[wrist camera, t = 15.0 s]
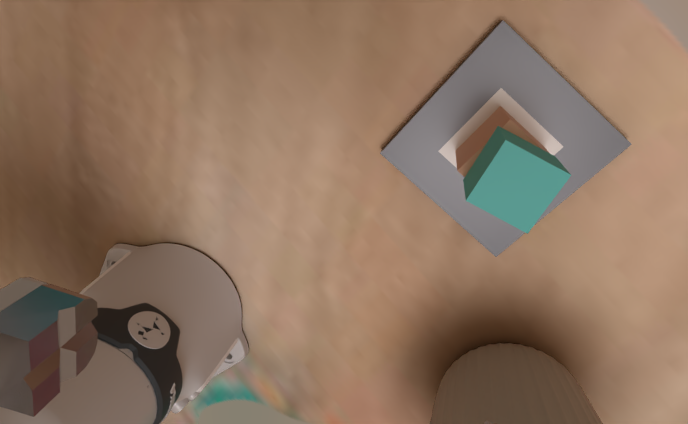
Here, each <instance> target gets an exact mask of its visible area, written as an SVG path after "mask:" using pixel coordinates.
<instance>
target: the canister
mask: <svg viewBox="0 0 688 424" xmlns="http://www.w3.org/2000/svg"><path fill="white" fill-rule="evenodd" d="M485 421H490V422H493V423H496V424H603V423H602V422H601V420H600V418H599V416H598V415H597V413H596V411H595V410H594V408H593V407H592V405H591V403H590V402H589V400H588V398H587V397H586V395H585V393H584V392H583V390H582V389H581V387H580V386H579V384H578V382H577V381H576V379H575V378H574V377H573V376H572V374H571V373H569V372H568V371H567V369H566V368H565V367H564V366H563V365H562V364H561V363H559V362H557V361H556V360H555V359H554V358H553V357H551V356H549V355H546V354H545V353H544V352H543V351H540V350H536V349H534V348H533V347H527V346H523V345H522V344H511V343H506V344H503V343H498V344H488V345H486V346H482V347H478V348H477V349H475V350H470V351H469V352H468V353H467V354H465V355H462V356H461V357H460V358H459V359H458V360H456V361H455V362H453V364H452V365H451V367H450V368H449V369H448V370H447V371H446V373H445V375H444V377H443V378H442V380H441V382H440V385H439V389H438V391H437V395H436V399H435V403H434V408H433V412H432V417H431V422H430V424H484V423H485Z"/></svg>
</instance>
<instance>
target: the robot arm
mask: <svg viewBox="0 0 688 424" xmlns="http://www.w3.org/2000/svg"><path fill="white" fill-rule="evenodd" d="M248 351H249V348H248V344H247V341H246V338H245V336H244V334H243V331H242V309H241V303H240V299H239V296H238V293H237V291H236V289H235V287H234V285H233V283H232V281H231V280H230V279H229V277H228V276H227V275H226V273H225V272H224V271H223V270H222V269H221V268H220V267H219V266H218V265H217V264H216V263H215V262H214V261H212V260H211V259H210V258H208V257H207V256H205V255H204V254H202V253H200V252H198V251H196V250H194V249H191V248H189V247H186V246H182V245H178V244H170V243H161V244H154V245H149V246H144V247H138V246H133V245H128V244H115V245H114V246H113V247H112V248H111V249H110V250H109V251H108V253H107V255H106V258H105V261H104V264H103V266H102V269H101V272H100V275H99V277H97V278H96V279H95V280H94V281H93V282H91V283H90V284H89V285H88V286H86V287H85V288H84V289H83V290H82V291H81V292H80V293H76V292H73V291H70V290H67V289H64V288H61V287H59V286H56V285H53V284H48V283H45V282H42V281H39V280H36V279H33V278H31V277H25V278H19V279H18V280H16V281H14V282H12V283H11V284H9V285H7V286H6V287H4V288H2V289H0V424H160V423H161V422H162V421H163V420H164V419H165V418H166V417H167V415H168V414H169V412H170V411H172V412H173V413H175V414H176V413H178V412H179V411H180V410H182V409H183V408H184V407H185V406H186V404H187V403H188V402H189V400H190V401H192V400H193V399H195V398H196V397H197V396H198V394H199V393H200V392H201V391H202V390H203V389H204V388H205V386H206V385H207V384H208V382H209V381H210V379H211V378H213V377H215V376H216V375H218V374H220V373H221V372H223V371H225V370H226V369H228V368H230V367H231V366H233V365H235V364H236V363H238V362H240V361H241V360H243V359H244V357H245V356H246V355H247V354H248ZM229 353H230V354H231V355H230V354H229ZM484 424H496V423H493V422H490V421H485V423H484Z"/></svg>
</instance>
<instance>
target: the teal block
mask: <svg viewBox="0 0 688 424" xmlns="http://www.w3.org/2000/svg"><path fill="white" fill-rule="evenodd" d="M570 176H571V174H570V173H569V172H568V171H567V169H566V168H565V167H564V166H563V165H562V164H561V162H560V161H559V160H558V159H557V158H556V157H555V156H554V155H552V154H550V153H548V152H546V151H544V150H543V149H541V148H539V147H537V146H535V145H533V144H531V143H529V142H528V141H526V140H524V139H522V138H520V137H518V136H516V135H515V134H513V133H511V132H509V131H507V130H505V129H503V128H501V127H500V126H497V128H496V129H495V131H494V133H493V134H492V136H491V137H490V139H489V140H488V142H487V143H486V145H485V147H484V148H483V150H482V151H481V153H480V154H479V156H478V158H477V159H476V161H475V162H474V164H473V165H472V167H471V168H470V170H469V172H468V173H467V175H466V176H465V178H464V179H463V183H464V190H465V198H466V201H467V202H469V203H471V204H473V205H475V206H477V207H479V208H480V209H482V210H484V211H486V212H488V213H490V214H492V215H493V216H495V217H497V218H499V219H501V220H503V221H505V222H507V223H508V224H510V225H512V226H514V227H516V228H518V229H520V230H521V231H523V232H525V233H527V234H528V232H529V231H530V230H531V228H532V227H533V226H534V224H535V223H536V222H537V220H538V219H539V218H540V216H541V215H542V214H543V212H544V211H545V210H546V208H547V207H548V206H549V204H550V203H551V202H552V200H553V199H554V198H555V196H556V195H557V194H558V192H559V191H560V190H561V188H562V187H563V186H564V184H565V183H566V182H567V180H568V179H569V178H570Z"/></svg>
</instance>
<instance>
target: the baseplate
mask: <svg viewBox="0 0 688 424" xmlns="http://www.w3.org/2000/svg"><path fill="white" fill-rule="evenodd" d="M500 106H501V107H502V108H503V109H505V110H506V111H507V112H508V113H509V114H510V115H511V116H512V117H513V118H514V119H515V120H516V121H517V122H518V123H519V124H521V125H522V126H523V127H524V128H525V129H526V130H527V131H528V132H529V133H530V134H531V135H532V136H533V137H534V138H535V139H536V140H538V141H539V142H540V143H541V144H542V145H543V146H544V147H545V148H546V149H547V151H548V152H549V153H550V154H552V155H554V156H555V157H556V158H557V159H558V160H559V161H560V162H561V164H562V165H563V166H564V167H565V168H566V169H567V171H568V172H569V173H570V174H571V176H570V178H569V179H568V180H567V182H566V183H565V184H564V186H563V187H562V188H561V190H560V191H559V192H558V194H557V195H556V196H555V198H554V199H553V200H552V202H551V203H550V204H549V206H548V207H547V208H546V210H545V211H544V212H543V214H542V215H541V216H540V218H539V219H538V220H537V222H539V221H540V220H541V219H542V218H544V217H545V216H546V215H547V214H548V213H550V212H551V211H552V210H553V209H554V208H556V207H557V206H558V205H559V204H560V203H562V202H563V201H564V200H565V199H566V198H568V197H569V196H570V195H571V194H572V193H574V192H575V191H576V190H577V189H578V188H580V187H581V186H582V185H583V184H584V183H586V182H587V181H588V180H589V179H590V178H592V177H593V176H594V175H595V174H596V173H598V172H599V171H600V170H601V169H602V168H604V167H605V166H606V165H607V164H608V163H610V162H611V161H612V160H613V159H615V158H616V157H617V156H618V155H619V154H621V153H622V152H623V151H624V150H625V149H627V148H628V147H629V146H630V145H631V143H630V142H629V141H628V140H627V139H626V138H625V137H624V136H623V135H622V134H621V133H619V132H618V131H617V130H616V129H615V128H614V127H613V126H612V125H611V124H610V123H609V122H608V121H607V120H606V119H605V118H604V117H603V116H602V115H601V114H600V113H599V112H598V111H597V110H596V109H595V108H594V107H593V106H591V105H590V104H589V103H588V102H587V101H586V100H585V99H584V98H583V97H582V96H581V95H580V94H579V93H578V92H577V91H576V90H575V89H574V88H573V87H572V86H571V85H570V84H569V83H568V82H567V81H566V80H565V79H564V78H562V77H561V76H560V75H559V74H558V73H557V72H556V71H555V70H554V69H553V68H552V67H551V66H550V65H549V64H548V63H547V62H546V61H545V60H544V59H543V58H542V57H541V56H540V55H539V54H538V53H537V52H536V51H534V50H533V49H532V48H531V47H530V46H529V45H528V44H527V43H526V42H525V41H524V40H523V39H522V38H521V37H520V36H519V35H518V34H517V33H516V32H515V31H514V30H513V29H512V28H511V27H510V26H509V25H508V24H506V23H505V22H504V21H503V20H501V21H500V22H499V24H498V25H497V26H496V27H495V28H494V29H493V30H492V31H491V32H490V33H489V34H488V36H487V37H486V38H485V39H484V40H483V41H482V42H481V43H480V44H479V45H478V46H477V47H476V49H475V50H474V51H473V52H472V53H471V54H470V55H469V56H468V57H467V58H466V59H465V60H464V62H463V63H462V64H461V65H460V66H459V67H458V68H457V69H456V70H455V71H454V72H453V73H452V75H451V76H450V77H449V78H448V79H447V80H446V81H445V82H444V83H443V84H442V85H441V86H440V88H439V89H438V90H437V91H436V92H435V93H434V94H433V95H432V96H431V97H430V98H429V99H428V101H427V102H426V103H425V104H424V105H423V106H422V107H421V108H420V109H419V110H418V111H417V112H416V114H415V115H414V116H413V117H412V118H411V119H410V120H409V121H408V122H407V123H406V124H405V125H404V127H403V128H402V129H401V130H400V131H399V132H398V133H397V134H396V135H395V136H394V137H393V138H392V140H391V141H390V142H389V143H388V144H387V145H386V146H385V147H384V148H383V149H382V151H381V153H380V154H381V155H382V156H384V157H385V158H386V159H387V160H388V161H389V162H390V163H391V164H393V165H394V166H395V167H396V168H397V169H398V170H399V171H400V172H402V173H403V174H404V175H405V176H406V177H407V178H408V179H409V180H410V181H412V182H413V183H414V184H415V185H416V186H417V187H418V188H419V189H421V190H422V191H423V192H424V193H425V194H426V195H427V196H428V197H429V198H431V199H432V200H433V201H434V202H435V203H436V204H437V205H438V206H440V207H441V208H442V209H443V210H444V211H445V212H446V213H447V214H448V215H450V216H451V217H452V218H453V219H454V220H455V221H456V222H457V223H459V224H460V225H461V226H462V227H463V228H464V229H465V230H466V231H467V232H469V233H470V234H471V235H472V236H473V237H474V238H475V239H476V240H478V241H479V242H480V243H481V244H482V245H483V246H484V247H485V248H487V249H488V250H489V251H490V252H491V253H492V254H493V255H494V256H495V257H497V256H498V255H499V254H500V253H501V252H503V251H504V250H505V249H506V248H507V247H509V246H510V245H511V244H512V243H513V242H515V241H516V240H517V239H518V238H519V237H521V236H522V235H523V234H524V233H525V232H523V231H521V230H520V229H518V228H516V227H514V226H512V225H510V224H508V223H507V222H505V221H503V220H501V219H499V218H497V217H495V216H493V215H492V214H490V213H488V212H486V211H484V210H482V209H480V208H479V207H477V206H475V205H473V204H471V203H469V202H467V201H466V198H465V190H464V183H463V179H464V178H465V177H464V176H463V175H461V174H460V173H459V172H458V171H457V163H456V153H455V151H456V150H457V149H458V148H459V147H460V146H461V145H462V144H463V143H464V142H465V141H466V140H467V139H468V138H469V137H470V136H471V135H472V134H473V133H474V132H475V131H476V130H477V129H478V128H479V127H480V126H481V125H482V124H483V123H484V122H485V121H486V120H487V119H488V118H489V117H490V116H491V115H492V114H493V113H494V112H495V111H496V110H497V109H498V108H499V107H500ZM537 222H536V223H537ZM536 223H535V224H536ZM535 224H534V225H535Z"/></svg>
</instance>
